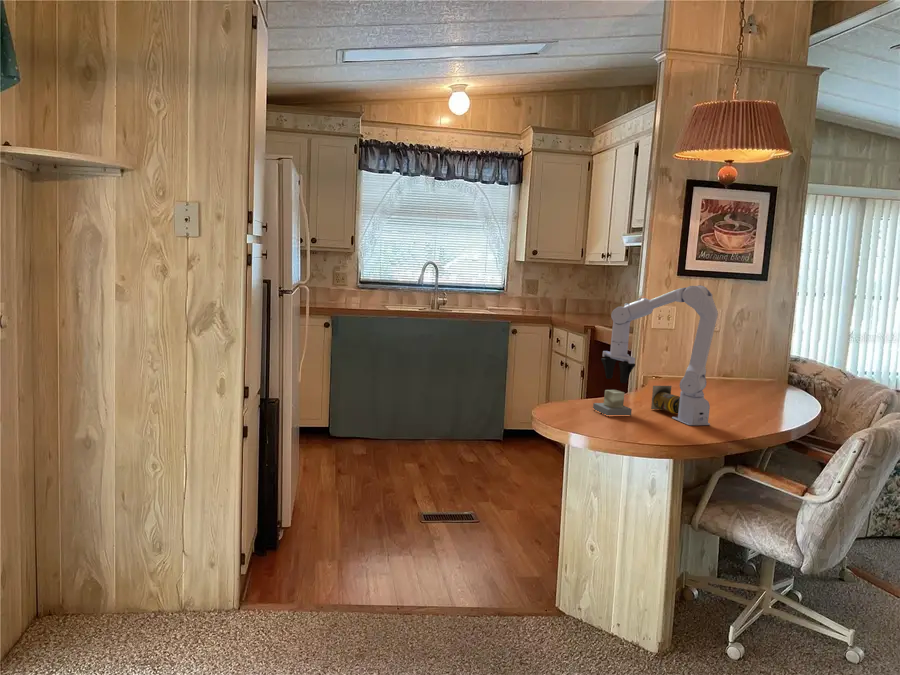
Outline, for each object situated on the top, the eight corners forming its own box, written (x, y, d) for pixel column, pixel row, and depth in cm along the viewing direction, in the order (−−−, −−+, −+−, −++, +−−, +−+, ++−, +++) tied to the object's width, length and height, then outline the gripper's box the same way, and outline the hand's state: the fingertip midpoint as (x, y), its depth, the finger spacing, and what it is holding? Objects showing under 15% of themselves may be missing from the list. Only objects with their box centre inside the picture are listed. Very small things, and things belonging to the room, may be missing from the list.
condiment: (650, 409, 234) (671, 416, 223) (652, 385, 234) (673, 391, 222) (669, 409, 236) (690, 416, 225) (670, 385, 236) (692, 391, 224)
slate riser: (630, 417, 222) (631, 408, 222) (607, 418, 219) (607, 409, 219) (615, 411, 231) (616, 402, 230) (592, 411, 228) (593, 403, 228)
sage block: (623, 407, 223) (624, 392, 223) (612, 407, 222) (613, 392, 221) (614, 404, 227) (615, 389, 227) (603, 404, 226) (605, 390, 225)
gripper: (643, 344, 227) (639, 384, 228) (615, 338, 240) (611, 376, 241) (627, 344, 224) (623, 385, 225) (599, 338, 236) (595, 376, 238)
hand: (616, 380), depth 233 cm, fingers open, 7 cm apart
